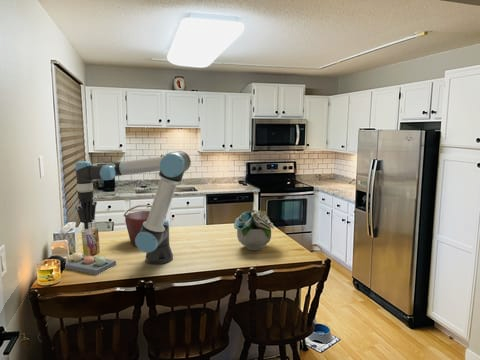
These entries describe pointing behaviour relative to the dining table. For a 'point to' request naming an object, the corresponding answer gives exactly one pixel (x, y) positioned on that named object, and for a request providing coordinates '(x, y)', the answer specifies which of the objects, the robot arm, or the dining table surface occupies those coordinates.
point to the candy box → (91, 243)
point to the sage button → (100, 261)
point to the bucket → (135, 222)
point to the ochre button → (77, 257)
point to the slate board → (89, 266)
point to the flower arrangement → (253, 229)
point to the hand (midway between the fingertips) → (88, 234)
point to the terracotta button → (88, 260)
